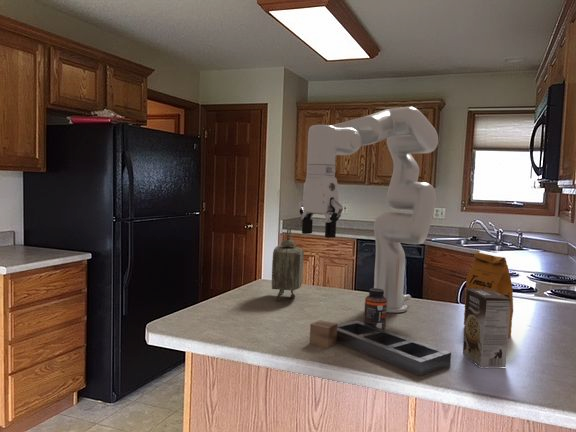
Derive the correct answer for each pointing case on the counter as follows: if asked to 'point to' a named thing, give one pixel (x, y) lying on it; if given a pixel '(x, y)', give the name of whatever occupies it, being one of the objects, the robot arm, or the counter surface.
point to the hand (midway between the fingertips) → (318, 235)
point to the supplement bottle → (375, 308)
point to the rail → (393, 348)
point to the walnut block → (323, 333)
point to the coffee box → (486, 327)
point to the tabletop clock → (287, 266)
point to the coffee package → (490, 278)
